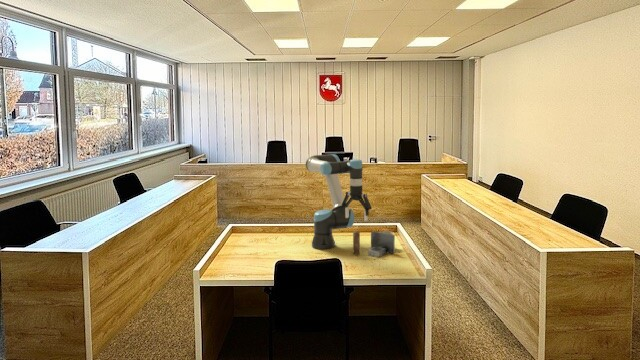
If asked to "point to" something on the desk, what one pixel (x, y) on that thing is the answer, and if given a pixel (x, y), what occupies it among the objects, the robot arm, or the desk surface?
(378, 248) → the bracket
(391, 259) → the desk surface
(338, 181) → the robot arm
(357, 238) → the handle
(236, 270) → the desk surface
